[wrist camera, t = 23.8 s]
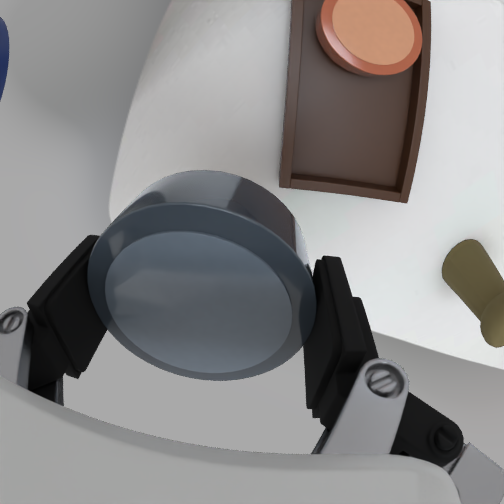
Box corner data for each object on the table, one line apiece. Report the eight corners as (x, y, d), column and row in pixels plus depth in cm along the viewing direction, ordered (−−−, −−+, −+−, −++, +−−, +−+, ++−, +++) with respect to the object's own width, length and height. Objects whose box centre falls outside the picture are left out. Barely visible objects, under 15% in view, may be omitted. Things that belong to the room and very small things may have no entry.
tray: (279, 179, 23) (279, 187, 21) (292, -24, 14) (293, -33, 12) (398, 195, 23) (407, 203, 21) (420, 6, 14) (430, 1, 12)
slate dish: (144, 304, 13) (117, 368, 10) (120, 160, 10) (60, 203, 6) (291, 316, 13) (296, 388, 10) (315, 166, 10) (342, 214, 6)
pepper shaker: (490, 258, 25) (539, 322, 16) (456, 293, 28) (495, 364, 18) (470, 228, 23) (530, 295, 14) (432, 268, 26) (478, 345, 17)
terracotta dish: (311, 68, 18) (318, 63, 15) (315, -11, 14) (322, -29, 11) (398, 85, 18) (420, 86, 14) (402, 9, 14) (423, -1, 11)
